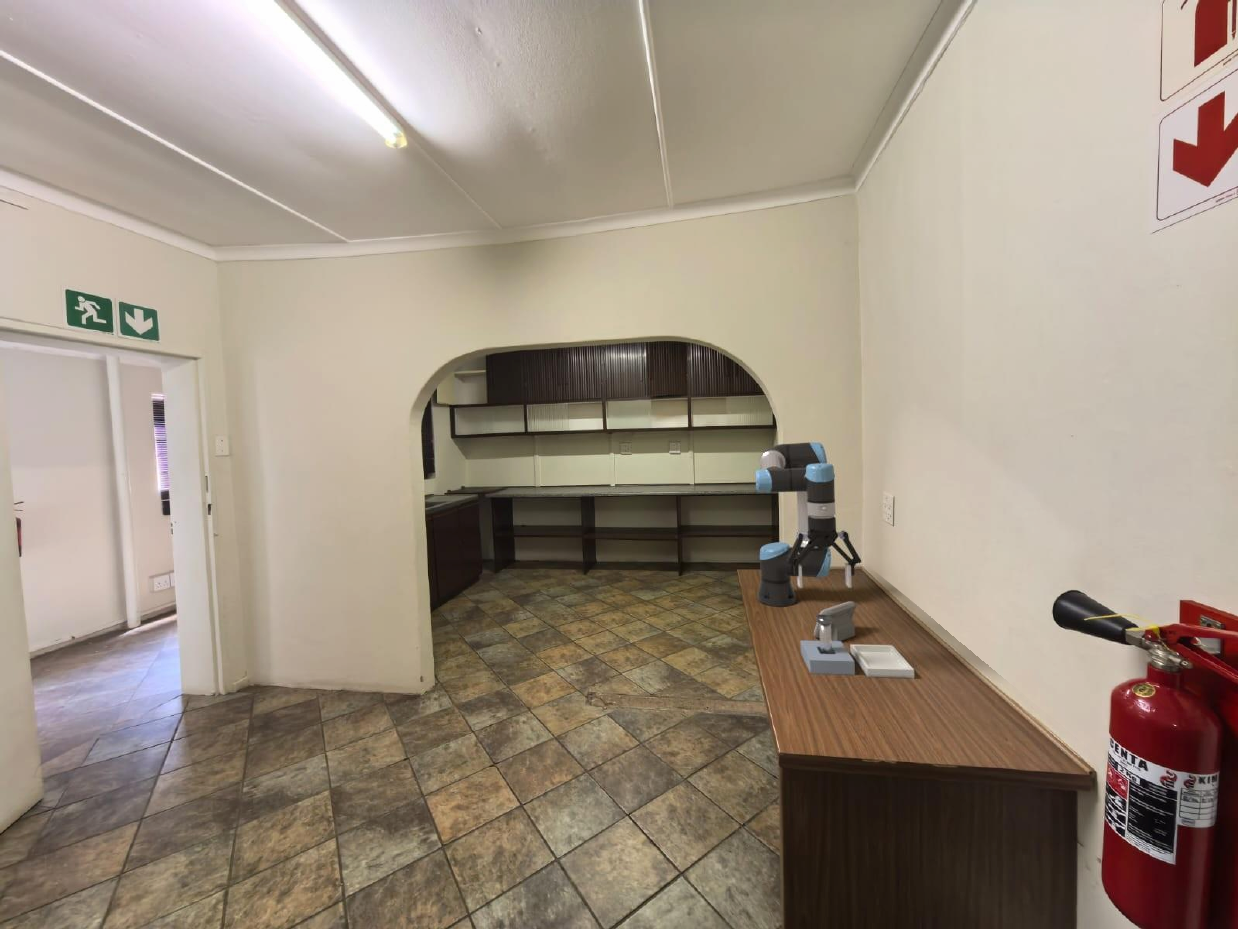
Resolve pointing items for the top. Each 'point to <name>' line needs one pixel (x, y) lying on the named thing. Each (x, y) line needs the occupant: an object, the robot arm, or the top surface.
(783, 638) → the top surface
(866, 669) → the tray
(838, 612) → the digital clock
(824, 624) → the pin
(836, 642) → the socket block
